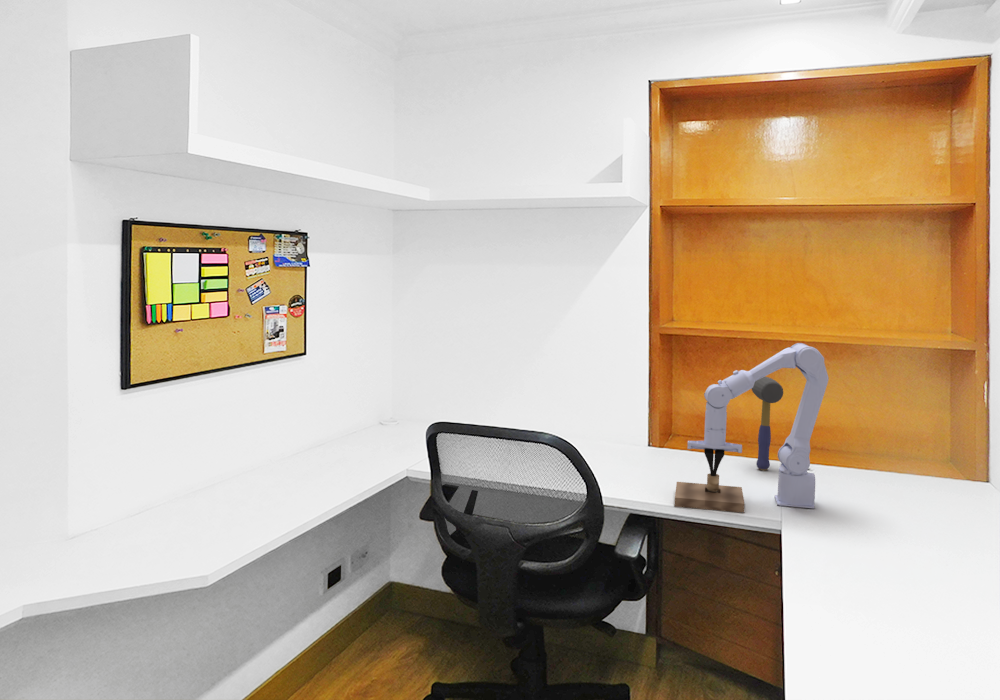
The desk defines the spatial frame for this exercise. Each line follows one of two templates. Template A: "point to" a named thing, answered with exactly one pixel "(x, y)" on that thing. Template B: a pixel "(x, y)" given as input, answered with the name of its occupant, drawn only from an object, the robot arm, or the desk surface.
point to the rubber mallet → (766, 416)
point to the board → (709, 497)
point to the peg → (712, 483)
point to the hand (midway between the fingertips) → (713, 475)
